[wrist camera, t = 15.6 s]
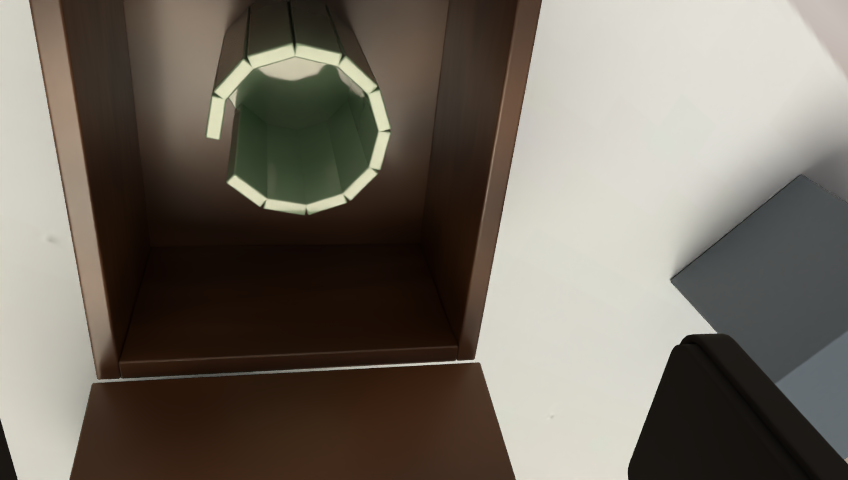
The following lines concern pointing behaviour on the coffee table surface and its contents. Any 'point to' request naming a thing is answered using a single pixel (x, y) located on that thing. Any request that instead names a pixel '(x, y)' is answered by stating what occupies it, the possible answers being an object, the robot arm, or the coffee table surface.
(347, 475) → the lid
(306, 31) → the cup
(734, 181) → the coffee table surface
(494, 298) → the coffee table surface
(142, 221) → the chest
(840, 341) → the slate grey cube
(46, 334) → the coffee table surface
